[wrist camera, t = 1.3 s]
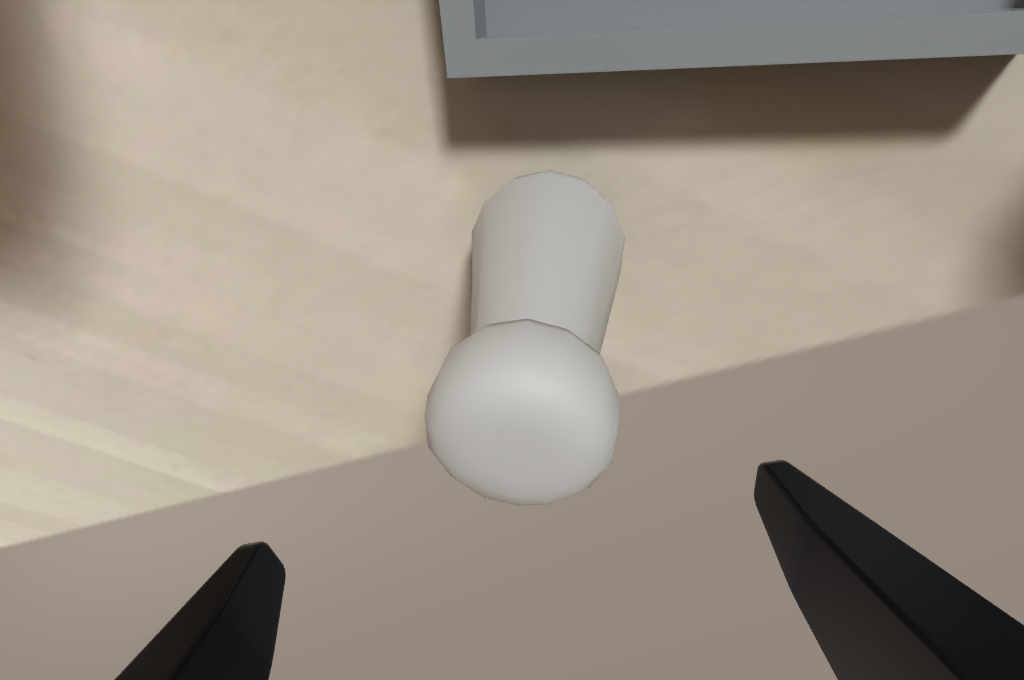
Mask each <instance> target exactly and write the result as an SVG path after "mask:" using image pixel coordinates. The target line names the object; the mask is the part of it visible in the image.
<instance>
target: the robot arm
mask: <svg viewBox="0 0 1024 680" xmlns="http://www.w3.org/2000/svg"><path fill="white" fill-rule="evenodd" d="M754 499H755V503H756V506H757V509H758V511H759V514H760V516H761V518H762V521H763V524H764V526H765V529H766V531H767V533H768V536H769V538H770V541H771V543H772V546H773V548H774V551H775V553H776V555H777V558H778V561H779V563H780V566H781V568H782V571H783V573H784V575H785V578H786V580H787V582H788V585H789V587H790V589H791V592H792V594H793V596H794V598H795V600H796V602H797V603H798V606H799V608H800V609H801V611H802V613H803V615H804V617H805V619H806V621H807V623H808V624H809V626H810V628H811V630H812V632H813V634H814V636H815V638H816V640H817V641H818V643H819V645H820V647H821V649H822V651H823V653H824V655H825V656H826V658H827V660H828V662H829V664H830V666H831V668H832V669H833V671H834V673H835V675H836V677H837V679H838V680H1024V625H1023V624H1021V623H1020V622H1018V621H1017V620H1015V619H1014V618H1012V617H1011V616H1010V615H1008V614H1007V613H1005V612H1004V611H1002V610H1001V609H1000V608H998V607H997V606H995V605H994V604H992V603H991V602H989V601H988V600H987V599H985V598H984V597H982V596H981V595H979V594H978V593H976V592H975V591H973V590H972V589H971V588H969V587H968V586H966V585H965V584H963V583H962V582H960V581H959V580H958V579H956V578H955V577H953V576H952V575H950V574H949V573H947V572H946V571H945V570H943V569H942V568H940V567H939V566H937V565H936V564H935V563H933V562H932V561H930V560H929V559H927V558H926V557H924V556H923V555H921V554H920V553H918V552H917V551H916V550H914V549H913V548H911V547H910V546H908V545H907V544H906V543H904V542H903V541H901V540H900V539H898V538H897V537H895V536H894V535H893V534H891V533H890V532H888V531H887V530H885V529H884V528H882V527H881V526H880V525H878V524H877V523H875V522H874V521H872V520H871V519H869V518H868V517H866V516H865V515H864V514H862V513H861V512H859V511H858V510H856V509H855V508H854V507H852V506H851V505H849V504H848V503H846V502H845V501H843V500H842V499H841V498H839V497H838V496H836V495H835V494H833V493H832V492H830V491H829V490H827V489H826V488H825V487H823V486H822V485H820V484H819V483H817V482H816V481H815V480H813V479H812V478H810V477H809V476H807V475H806V474H804V473H803V472H802V471H800V470H799V469H797V468H796V467H794V466H792V465H791V464H790V463H788V462H786V461H784V460H776V461H770V462H763V463H761V464H760V465H759V466H758V469H757V476H756V482H755V489H754ZM284 584H285V568H284V565H283V564H282V562H281V561H280V560H279V558H278V557H277V556H276V555H275V553H274V552H273V551H272V549H271V548H270V547H269V545H268V544H267V543H265V542H255V543H248V544H244V545H242V546H240V547H239V548H237V549H236V550H235V551H234V553H232V555H231V556H230V557H229V558H228V559H227V560H226V561H225V562H224V563H223V564H222V565H221V566H220V567H219V569H218V570H217V571H216V572H215V573H214V574H213V575H212V576H211V577H210V578H209V579H208V580H207V581H206V582H205V584H203V586H202V587H201V588H200V589H199V590H198V591H197V592H196V593H195V594H194V595H193V596H192V597H191V598H190V599H189V601H188V602H187V603H186V604H185V605H184V606H183V607H182V608H181V609H180V610H179V611H178V612H177V613H176V614H175V616H174V617H173V618H172V619H171V620H170V621H169V622H168V623H167V624H166V625H165V626H164V627H163V628H162V629H161V630H160V632H159V633H158V634H157V635H156V636H155V637H154V638H153V639H152V640H151V641H150V642H149V643H148V644H147V645H146V647H145V648H144V649H143V650H142V651H141V652H140V653H139V654H138V655H137V656H136V657H135V658H134V659H133V661H132V662H131V663H130V664H129V665H128V666H127V667H126V668H125V669H124V670H123V671H122V672H121V673H120V674H119V675H118V676H117V678H116V679H115V680H268V679H269V674H270V670H271V666H272V660H273V655H274V649H275V643H276V636H277V629H278V623H279V617H280V610H281V604H282V597H283V591H284Z"/></svg>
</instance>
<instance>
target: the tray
mask: <svg viewBox="0 0 1024 680" xmlns="http://www.w3.org/2000/svg"><path fill="white" fill-rule="evenodd" d="M439 7H440V16H441V25H442V35H443V44H444V53H445V62H446V72H447V78H467V77H490V76H514V75H537V74H561V73H585V72H608V71H632V70H656V69H679V68H703V67H727V66H750V65H774V64H798V63H821V62H845V61H868V60H892V59H916V58H939V57H963V56H987V55H1010V54H1024V0H439Z"/></svg>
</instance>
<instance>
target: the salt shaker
mask: <svg viewBox="0 0 1024 680" xmlns="http://www.w3.org/2000/svg"><path fill="white" fill-rule="evenodd" d="M624 240H625V237H624V235H623V232H622V229H621V227H620V224H619V221H618V219H617V216H616V213H615V211H614V208H613V206H612V204H611V202H609V201H608V200H607V199H606V198H605V197H604V196H603V195H602V194H600V193H599V192H598V191H597V190H596V189H595V188H594V187H593V186H591V185H590V184H589V183H588V182H587V181H586V180H584V179H581V178H577V177H573V176H569V175H566V174H562V173H558V172H554V171H551V170H550V171H545V172H540V173H536V174H531V175H526V176H521V177H516V178H515V179H514V180H512V181H511V182H510V183H508V184H507V185H506V186H505V187H503V188H502V189H501V190H499V191H498V192H497V193H495V194H494V195H493V196H491V197H490V198H489V199H488V200H486V201H485V203H484V205H483V207H482V210H481V212H480V214H479V217H478V219H477V221H476V223H475V226H474V228H473V230H472V300H471V326H470V336H468V337H467V338H465V339H464V340H462V341H460V342H459V343H457V344H456V345H455V346H453V347H452V348H451V349H450V351H449V353H448V355H447V357H446V359H445V361H444V363H443V365H442V367H441V369H440V371H439V373H438V375H437V377H436V379H435V381H434V383H433V385H432V387H431V389H430V391H429V393H428V396H427V404H426V411H425V423H426V431H427V439H428V447H429V448H430V450H431V451H432V452H433V453H434V455H435V456H436V457H437V459H438V460H439V461H440V462H441V464H442V465H443V466H444V468H445V469H446V470H447V472H448V473H449V474H450V475H451V476H452V477H454V478H455V479H456V480H457V481H459V482H460V483H462V484H463V485H465V486H467V487H468V488H470V489H472V490H473V491H475V492H476V493H478V494H479V495H481V496H483V497H485V498H489V499H493V500H497V501H501V502H505V503H510V504H514V505H537V504H552V503H554V502H557V501H559V500H561V499H564V498H566V497H569V496H571V495H574V494H576V493H578V492H581V491H582V490H585V489H587V488H589V487H590V486H591V485H592V484H593V483H594V482H595V481H596V480H597V479H598V478H599V477H600V476H601V475H602V473H604V471H605V470H606V469H607V468H608V467H609V466H610V465H611V464H612V461H613V456H614V449H615V444H616V437H617V430H618V423H619V416H620V405H619V399H618V393H617V389H616V387H615V385H614V383H613V380H612V378H611V376H610V374H609V371H608V369H607V367H606V365H605V362H604V360H603V358H602V357H601V355H600V351H601V347H602V343H603V339H604V335H605V331H606V327H607V323H608V319H609V315H610V311H611V307H612V303H613V299H614V295H615V291H616V287H617V283H618V279H619V275H620V271H621V264H622V256H623V248H624Z"/></svg>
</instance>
